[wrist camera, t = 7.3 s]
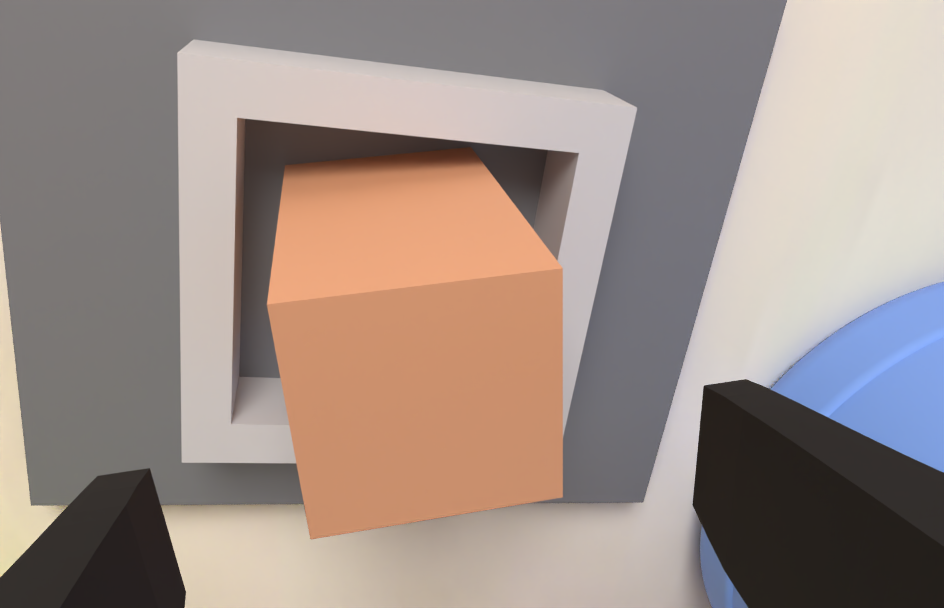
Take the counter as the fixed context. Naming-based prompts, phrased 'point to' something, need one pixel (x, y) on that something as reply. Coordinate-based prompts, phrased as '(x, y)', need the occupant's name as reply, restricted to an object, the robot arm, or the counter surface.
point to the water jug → (868, 392)
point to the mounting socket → (337, 138)
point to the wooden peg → (415, 341)
